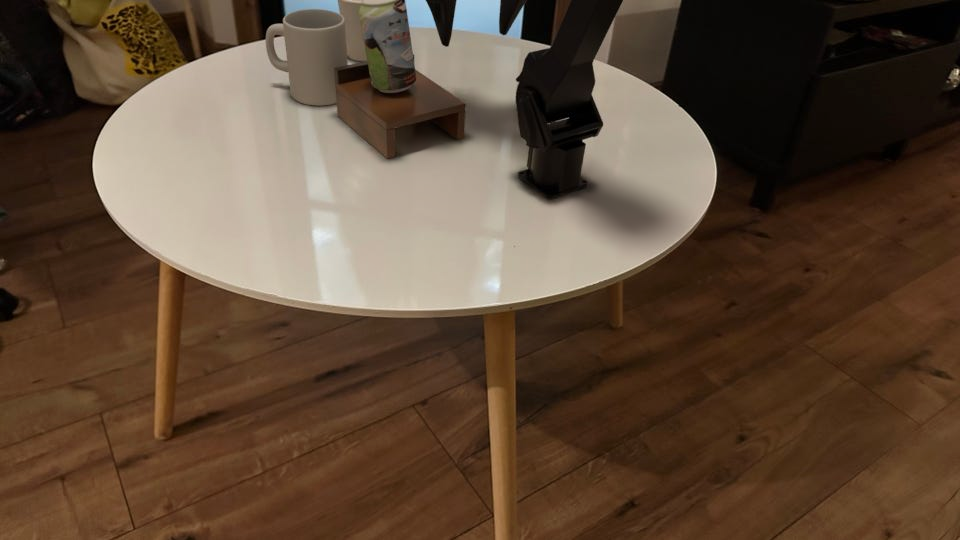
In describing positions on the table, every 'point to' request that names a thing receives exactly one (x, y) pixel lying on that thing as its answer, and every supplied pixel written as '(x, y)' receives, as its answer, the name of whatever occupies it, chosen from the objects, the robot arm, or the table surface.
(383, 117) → the wooden riser stand
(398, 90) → the beverage can
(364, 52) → the dixie cup
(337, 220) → the table surface
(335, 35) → the mug
